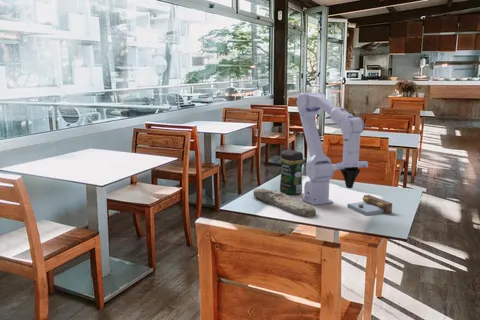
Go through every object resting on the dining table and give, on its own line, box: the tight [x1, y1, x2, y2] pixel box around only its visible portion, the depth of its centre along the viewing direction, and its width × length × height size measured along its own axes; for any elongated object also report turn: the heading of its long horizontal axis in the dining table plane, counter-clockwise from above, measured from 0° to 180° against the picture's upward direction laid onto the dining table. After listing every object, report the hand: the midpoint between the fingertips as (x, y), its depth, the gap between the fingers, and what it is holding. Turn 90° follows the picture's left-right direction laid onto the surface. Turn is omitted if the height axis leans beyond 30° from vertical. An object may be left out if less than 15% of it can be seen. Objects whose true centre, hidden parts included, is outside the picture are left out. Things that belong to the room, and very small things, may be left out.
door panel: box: [346, 201, 385, 216], centre depth 164 cm, size 8×11×3 cm
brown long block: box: [362, 194, 393, 214], centre depth 165 cm, size 4×13×4 cm, turn 23°
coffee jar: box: [279, 149, 304, 196], centre depth 186 cm, size 10×8×19 cm
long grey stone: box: [253, 187, 317, 218], centre depth 170 cm, size 35×5×10 cm
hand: (349, 187), depth 159 cm, fingers closed
